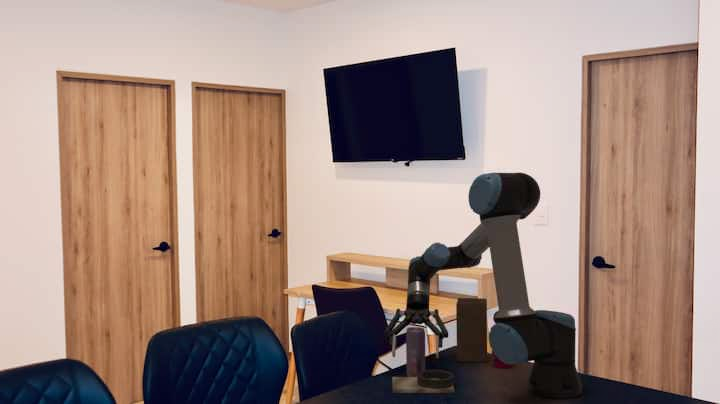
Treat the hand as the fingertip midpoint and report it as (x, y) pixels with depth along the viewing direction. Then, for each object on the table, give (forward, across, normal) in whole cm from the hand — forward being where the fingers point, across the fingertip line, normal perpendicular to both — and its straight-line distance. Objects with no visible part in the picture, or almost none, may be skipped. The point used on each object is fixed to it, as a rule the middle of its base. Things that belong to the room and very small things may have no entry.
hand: (415, 355), depth 211 cm
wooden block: (-12, -18, -23) cm, 31 cm away
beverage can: (+4, 0, -7) cm, 8 cm away
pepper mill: (-7, -28, -17) cm, 33 cm away
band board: (+11, -3, 0) cm, 11 cm away
